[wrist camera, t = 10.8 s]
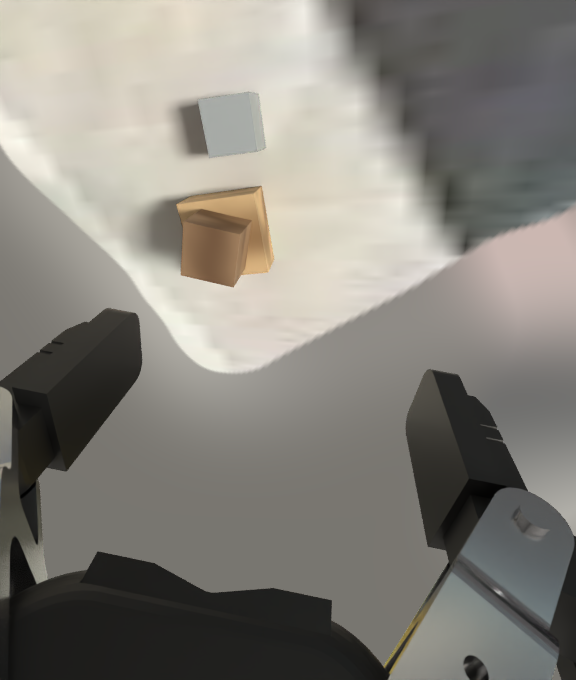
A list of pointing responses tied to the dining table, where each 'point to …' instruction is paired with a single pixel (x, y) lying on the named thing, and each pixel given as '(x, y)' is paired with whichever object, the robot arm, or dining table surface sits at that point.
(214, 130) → the slate-grey cube
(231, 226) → the walnut cube
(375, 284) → the dining table surface
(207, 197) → the teak block
